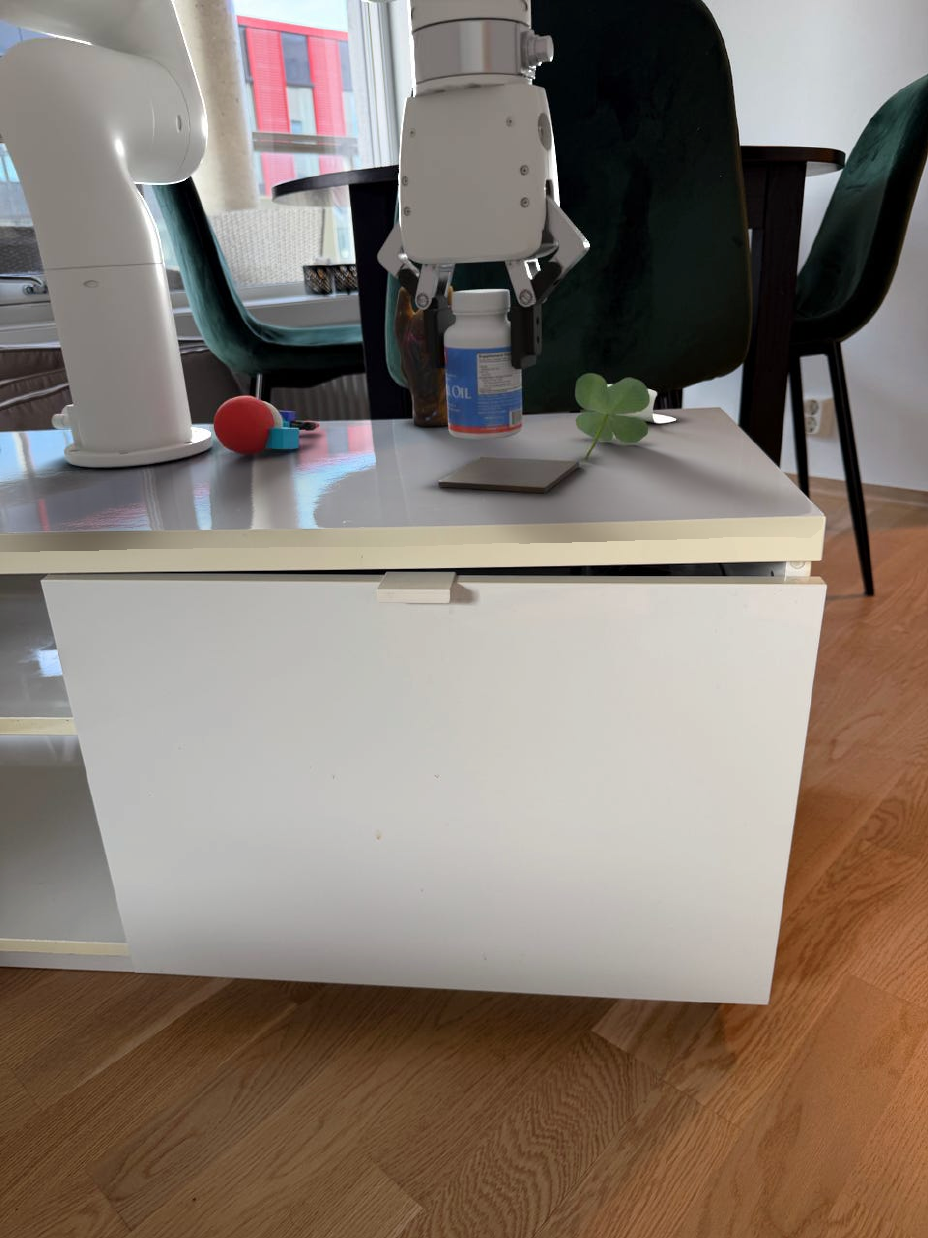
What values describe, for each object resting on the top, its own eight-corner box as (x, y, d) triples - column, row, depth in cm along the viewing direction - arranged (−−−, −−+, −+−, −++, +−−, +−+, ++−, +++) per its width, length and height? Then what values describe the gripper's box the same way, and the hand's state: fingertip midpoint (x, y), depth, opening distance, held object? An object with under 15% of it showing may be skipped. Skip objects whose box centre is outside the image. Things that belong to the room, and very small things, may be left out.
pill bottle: (438, 431, 66) (430, 292, 62) (505, 423, 67) (500, 287, 63) (464, 444, 61) (456, 294, 57) (535, 435, 62) (532, 288, 59)
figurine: (472, 414, 90) (464, 279, 85) (463, 426, 83) (454, 282, 79) (411, 416, 90) (400, 283, 86) (398, 428, 84) (385, 286, 79)
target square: (438, 486, 63) (438, 481, 62) (481, 461, 69) (481, 456, 69) (545, 493, 60) (544, 487, 59) (579, 466, 66) (579, 461, 66)
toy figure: (254, 446, 87) (185, 453, 73) (254, 395, 86) (184, 392, 72) (328, 451, 86) (273, 459, 72) (329, 400, 85) (273, 397, 71)
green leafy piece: (593, 510, 73) (618, 454, 76) (649, 465, 66) (675, 406, 69) (523, 460, 71) (551, 406, 74) (573, 410, 64) (602, 352, 67)
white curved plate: (624, 409, 88) (625, 379, 86) (682, 419, 81) (683, 386, 80) (595, 415, 86) (595, 383, 85) (652, 425, 80) (653, 391, 78)
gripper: (621, 60, 55) (616, 359, 62) (380, 92, 62) (400, 360, 69) (587, 38, 49) (585, 374, 56) (323, 77, 55) (351, 373, 62)
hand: (483, 363), depth 62 cm, fingers closed on pill bottle, 5 cm apart
